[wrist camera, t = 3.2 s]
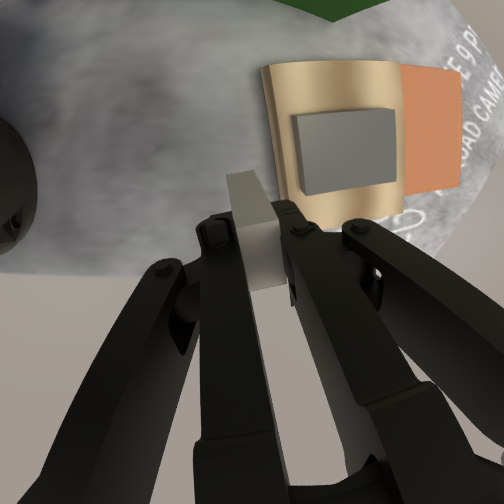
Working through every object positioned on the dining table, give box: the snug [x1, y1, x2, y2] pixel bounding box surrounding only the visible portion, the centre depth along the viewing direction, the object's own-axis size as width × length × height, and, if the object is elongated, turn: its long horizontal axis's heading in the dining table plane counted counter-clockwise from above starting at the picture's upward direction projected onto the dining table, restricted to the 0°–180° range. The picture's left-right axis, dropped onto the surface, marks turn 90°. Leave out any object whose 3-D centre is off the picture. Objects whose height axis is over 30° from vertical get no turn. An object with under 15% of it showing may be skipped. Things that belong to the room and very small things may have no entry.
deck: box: [260, 60, 405, 230], centre depth 23 cm, size 11×14×4 cm
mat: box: [400, 65, 462, 196], centre depth 25 cm, size 11×14×1 cm
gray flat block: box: [291, 108, 397, 196], centre depth 21 cm, size 8×6×2 cm
